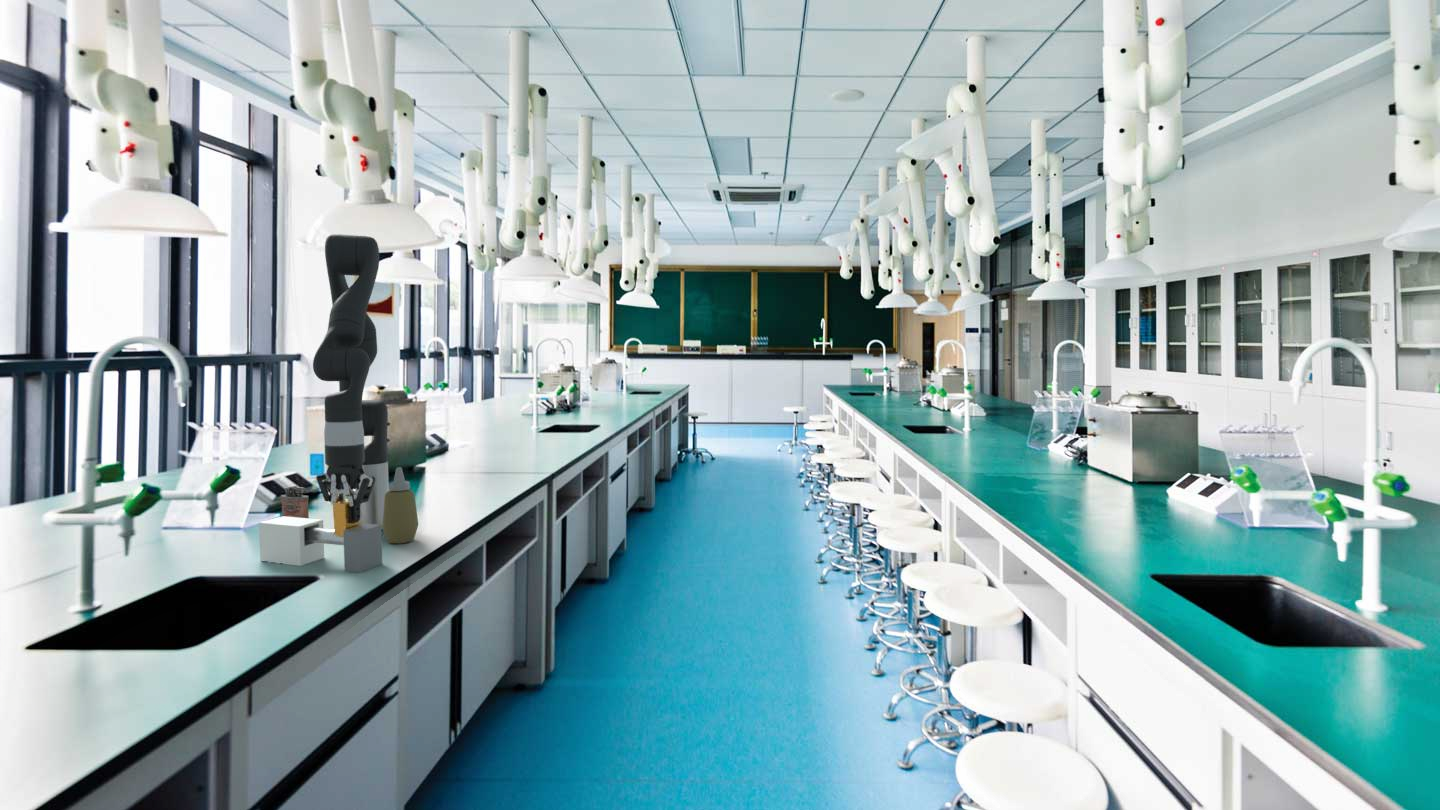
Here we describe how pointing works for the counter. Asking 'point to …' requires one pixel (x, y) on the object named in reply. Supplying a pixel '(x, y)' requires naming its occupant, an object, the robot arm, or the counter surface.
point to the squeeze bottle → (399, 511)
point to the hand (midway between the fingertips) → (346, 521)
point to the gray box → (362, 547)
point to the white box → (289, 541)
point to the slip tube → (340, 525)
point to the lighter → (295, 502)
